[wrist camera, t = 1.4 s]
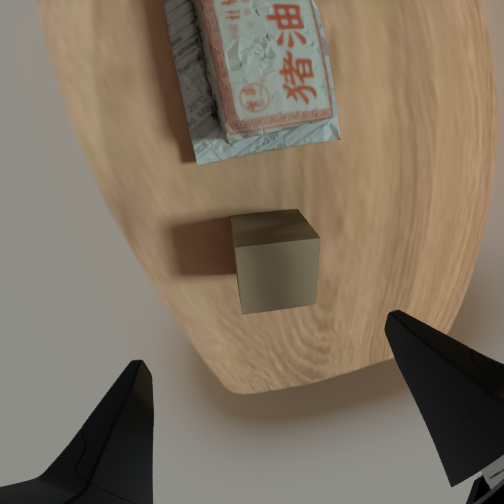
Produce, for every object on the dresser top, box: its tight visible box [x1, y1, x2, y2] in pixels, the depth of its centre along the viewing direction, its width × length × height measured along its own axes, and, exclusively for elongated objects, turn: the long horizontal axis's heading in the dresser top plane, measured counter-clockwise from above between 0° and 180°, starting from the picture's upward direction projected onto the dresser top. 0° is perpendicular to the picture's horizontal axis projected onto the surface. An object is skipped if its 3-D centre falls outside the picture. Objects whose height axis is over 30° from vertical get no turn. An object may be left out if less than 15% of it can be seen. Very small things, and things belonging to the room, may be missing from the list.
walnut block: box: [230, 209, 320, 315], centre depth 19 cm, size 5×5×5 cm
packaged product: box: [163, 0, 341, 166], centre depth 12 cm, size 18×5×10 cm
